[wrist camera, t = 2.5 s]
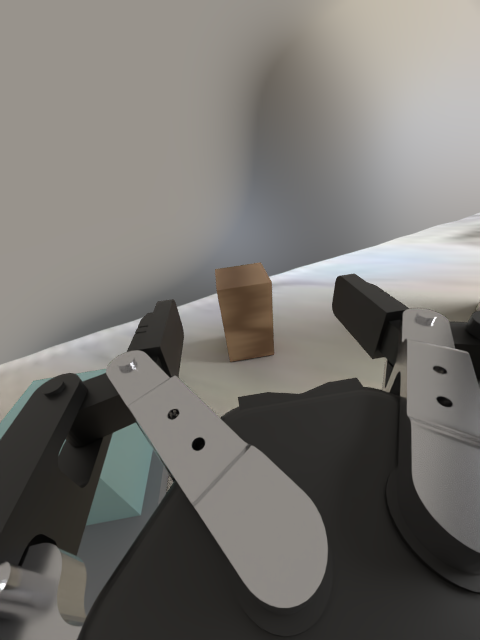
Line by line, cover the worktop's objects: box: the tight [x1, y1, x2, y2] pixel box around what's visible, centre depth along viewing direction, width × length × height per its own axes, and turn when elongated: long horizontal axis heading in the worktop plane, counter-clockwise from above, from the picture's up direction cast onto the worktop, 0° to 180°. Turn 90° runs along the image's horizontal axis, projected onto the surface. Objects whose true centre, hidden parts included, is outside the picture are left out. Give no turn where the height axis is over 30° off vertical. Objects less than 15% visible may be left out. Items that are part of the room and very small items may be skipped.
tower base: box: [0, 369, 179, 617], centre depth 15 cm, size 9×16×7 cm, turn 7°
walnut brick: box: [215, 263, 274, 362], centre depth 25 cm, size 5×5×9 cm
